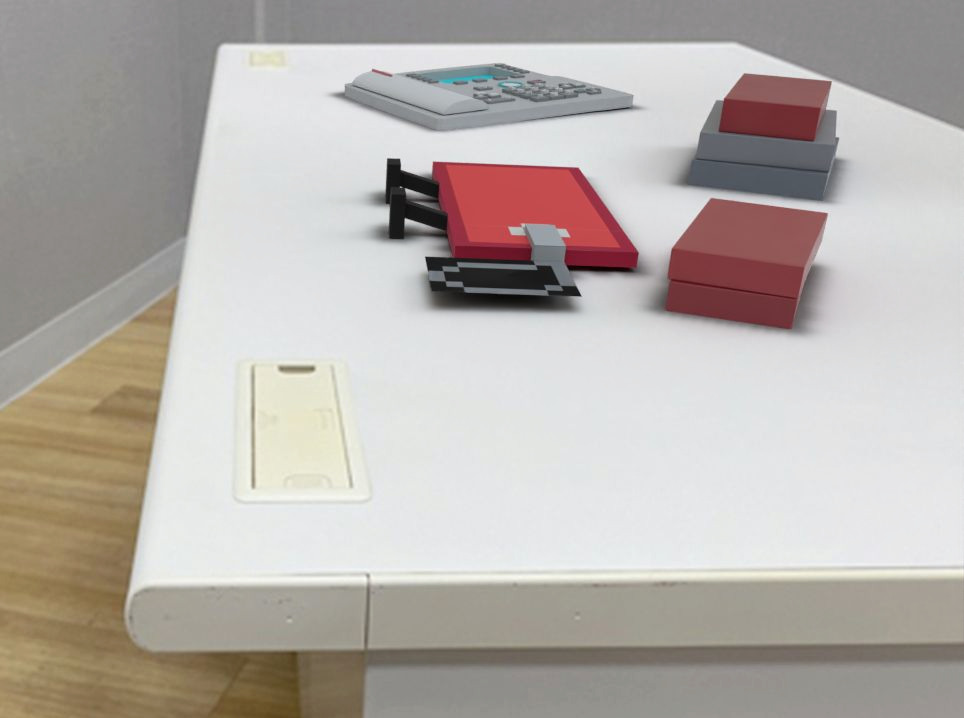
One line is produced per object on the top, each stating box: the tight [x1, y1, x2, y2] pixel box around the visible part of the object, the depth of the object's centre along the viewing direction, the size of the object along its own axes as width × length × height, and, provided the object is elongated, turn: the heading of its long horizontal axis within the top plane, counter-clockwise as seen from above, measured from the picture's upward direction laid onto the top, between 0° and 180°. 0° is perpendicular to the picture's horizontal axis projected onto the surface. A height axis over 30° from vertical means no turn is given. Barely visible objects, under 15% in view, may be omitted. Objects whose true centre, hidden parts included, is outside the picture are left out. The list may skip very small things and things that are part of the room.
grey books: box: [687, 99, 840, 202], centre depth 96 cm, size 14×10×4 cm
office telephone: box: [344, 62, 634, 131], centre depth 118 cm, size 23×3×20 cm
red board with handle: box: [384, 157, 640, 298], centre depth 80 cm, size 30×3×15 cm
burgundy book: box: [718, 72, 833, 141], centre depth 94 cm, size 12×7×2 cm, turn 159°
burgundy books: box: [664, 197, 829, 330], centre depth 71 cm, size 12×8×4 cm, turn 159°
